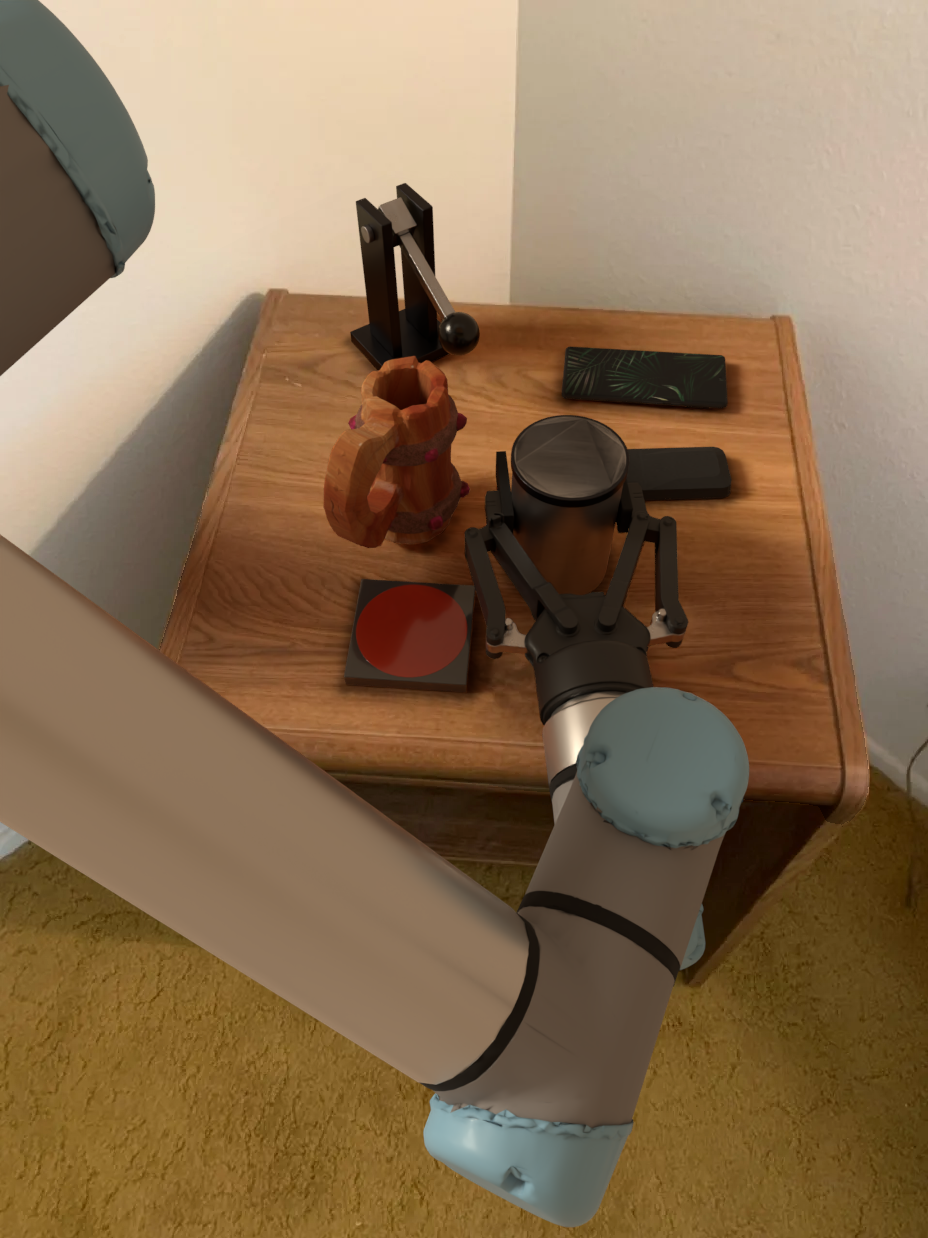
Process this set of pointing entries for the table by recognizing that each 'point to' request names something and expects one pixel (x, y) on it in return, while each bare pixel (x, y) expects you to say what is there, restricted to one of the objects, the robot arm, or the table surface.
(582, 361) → the smartphone
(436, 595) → the hob
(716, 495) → the remote control
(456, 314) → the lever
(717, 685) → the table surface
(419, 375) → the mug
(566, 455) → the lidded metal tumbler
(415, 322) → the switch
